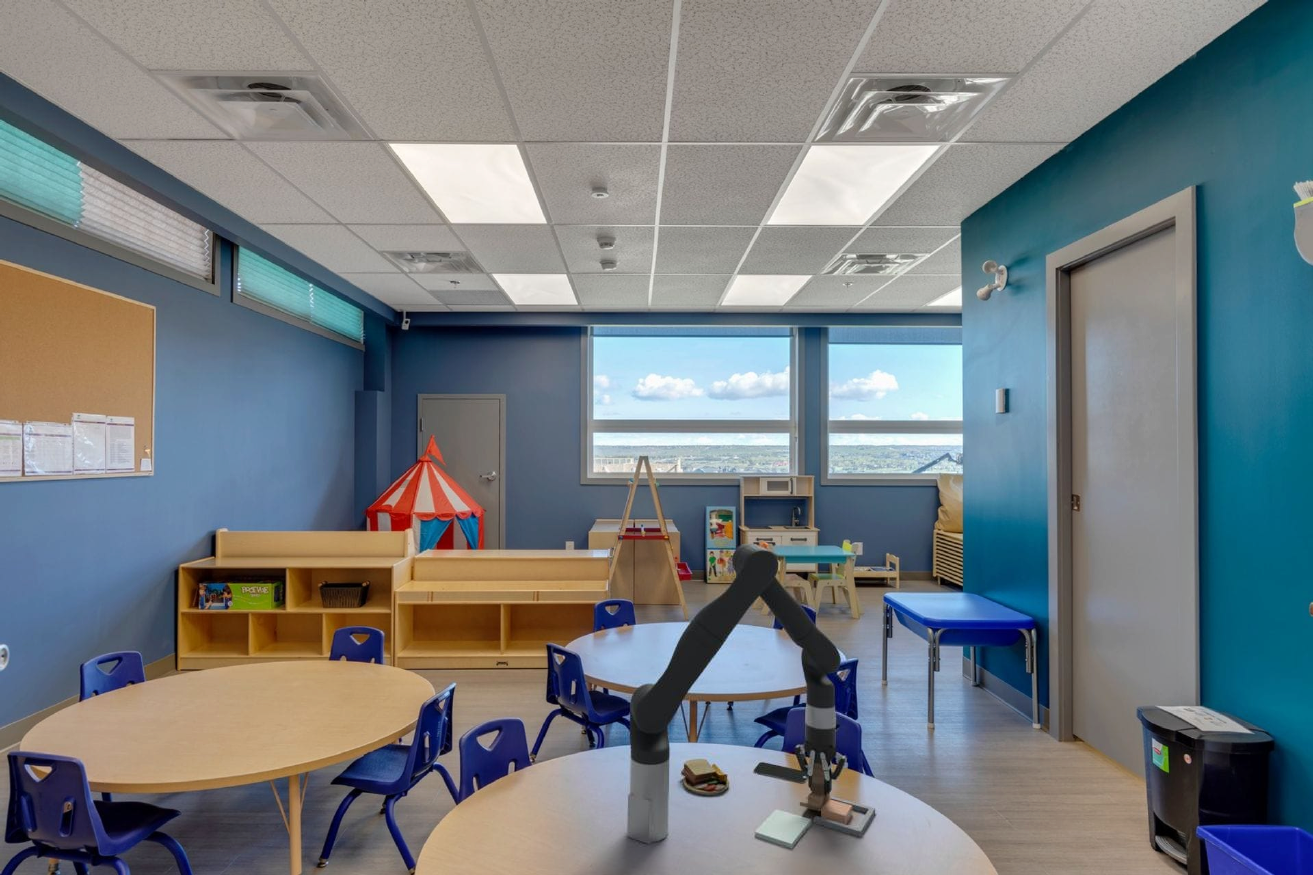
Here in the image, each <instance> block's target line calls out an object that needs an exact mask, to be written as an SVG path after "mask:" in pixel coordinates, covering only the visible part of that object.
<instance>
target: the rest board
mask: <svg viewBox="0 0 1313 875" xmlns="http://www.w3.org/2000/svg"><path fill="white" fill-rule="evenodd" d="M811 824H812V819H811V818H808V817H803V816H800V815H797V814H794V813H790V812H788V811H787V812H786V811H783V810H781V809H778V808H775V810H774V811H773V812H772V813H771V814H770V815H769V816H768V817H767V819H765V820H764V821H763V823H761V825H760V826H759V827H758V828H757V829H756V830H755V831H754V837H756V838H759V839H762V840H765V841H768V842H772V843H774V844H777V845H780V846H783V847H785V848H786V847H787V848H789V849H793V847H794V846H795V845H796V844H797V842H798V841H799V840H800V838H801V837H802V836H803V835H804V834H805V832H806V831H807V830H808V829H809V827H810V826H811ZM806 829H807V830H806Z"/></svg>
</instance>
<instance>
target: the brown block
mask: <svg viewBox="0 0 1313 875" xmlns="http://www.w3.org/2000/svg"><path fill="white" fill-rule="evenodd" d="M824 780H825V775H824V771H823V766H822V765H821V764H819V763H814V768H813V775H812V791H811V792H810V793H809V794H807V796H806V797H805V798H804V799H802V800H801V801H800V802H799V806H800V807H804V808H807V809H810V810H813V811H817V812H821V808H822V807H823V806H824V804H825V803H826V802H827V801H828V799H830V797H831V796H830V795H831V792H830V793H829V794H828V795H825V794H824Z"/></svg>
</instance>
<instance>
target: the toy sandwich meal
mask: <svg viewBox="0 0 1313 875" xmlns="http://www.w3.org/2000/svg"><path fill="white" fill-rule="evenodd" d="M680 775H681V776H683V777H684V778H683V780H682V783H683V785H684V786H685V787H686V789H687V790H689V791H690V790H691V791H690V792H692V791H693V792H692V793H694V792H696V793H695V794H698V793H699V794H698V795H703V794H706V795H705V796H711V795H712V794H714V795H719V794H721V793H723V792H725V791H726V790H727V789H728V788H729V786H730V780H729V779H728V774H726V773H725V772H722V770H721V769H720V768H719V767H718V766H717V765H716V764H715V763H713V764H710V763H709V761H708V759H704V758H695V759H689V760H687V761H684V763H683V769H681V771H680ZM724 790H725V791H724Z"/></svg>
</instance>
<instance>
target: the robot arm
mask: <svg viewBox="0 0 1313 875" xmlns="http://www.w3.org/2000/svg"><path fill="white" fill-rule="evenodd" d="M731 562H732V567H733V570H734V571H735V573H736V574H737V575H736V576H735V578H734V580H733V581H732V583H730V585H729V587H727V589H726V590H725V591H724V592H723V593H722V594H721V595H719V596H717V598H715V599H714V600H712V601H711V602H710V603H708V604H707V605H705V606H704V607H702V608H701V609H700V610H699V611H698V613H697V614H695V616H694V617H693V619H692V620H691V621H690V622H689V624H688V625H687V626H686V628H685V630H684V631H683V633H682V634H681V636H680V637H679V640H678V641H677V643H676V646H675V648H674V650H673V653H672V656H671V658H670V661H669V663H668V665H667V667H666V669H665V670H664V672H663V673H662V675H661V676H660V677H659V678H658V680H657V681H656V682H655V684H654V683H646V684H642V685H640V686H639V687H637V688H636V689H635V691H634V692H633V694H632V695H631V699H630V704H629V743H630V744H629V746H630V770H629V771H630V772H629V774H630V776H629V778H630V779H629V793H628V796H627V830H626V832H627V834H626V835H627V837H629V838H631V839H634V840H637V841H639V842H641V843H645V844H648V845H650V844H652V843H654V842H659V841H661V840H663V839H665V838H667V836H668V834H669V809H670V808H669V806H670V805H669V804H670V803H669V801H670V798H669V797H670V795H669V794H670V750H671V748H670V740H669V732H668V726H669V725H670V723H671V721H672V720H673V719H674V717H675V714H676V713H677V711H678V710H679V708H680V707H681V705H682V703H683V701H684V699H685V698H686V695H687V694H688V693H689V691H690V690H691V688H692V687H693V685H694V684H695V682H696V681H697V680H698V679H699V677H701V675H702V674H703V672H704V671H705V669H707V667H708V665H709V664H710V663H711V661H712V660H713V659H714V658H715V656H716V655H717V653H718V652H719V651H720V649H721V648H722V646H723V645H724V644H725V642H726V641H727V639H728V638H729V636H730V635H731V633H732V632H733V631H734V630H735V628H736V627H737V625H738V624H739V622H740V621H741V620H742V618H744V615H745V614H747V613H746V612H748V610H749V609H750V607H751V606H752V605H753V604H754V603H755V602H756V600H757V599H758V598H759V597H760V598H761V600H762V602H764V603H765V605H766V606H767V607H768V609H769V610H770V611H771V613H772V614H773V615H774V617H775V618H776V620H777V621H778V622H779V624H780V626H781V627H782V628H783V630H784V631H785V632H786V634H787V636H789V638H790V639H791V641H792V642H793V643H794V644H795V645H796V646H798V647H799V648H801V656H800V657H801V659H800V660H801V667H802V672H803V677H804V680H805V685H806V704H805V712H804V713H805V716H804V717H805V720H804V721H805V722H804V724H805V726H804V727H805V728H804V729H805V730H804V734H805V735H804V737H805V738H804V743H803V744H797V745H796V746H795V747H793V751H794V754H795V756H796V760H797V762H798V764H799V768H800V770H801V771H803V772H804V771H805V772H806V773H807V774H808V779H807V786H808V788H809V789H810V792H812V775H813V768H814V763H819V764H821V765H822V766H823V771H824V775H825V780H824V794H825V795H828V794H829V793H830V794H831V791H832V789H833V785H832V784H833V782H832V781H833V780H834V781H835V780H838V777H840V774H841V773H842V771H843V769H844V766H845V765H846V762H847V760H848V757H847V755H842V754H841V753H839V752H838V748H837V746H836V745H837V744H836V739H837V738H836V736H837V735H836V734H837V732H836V729H837V726H836V725H837V716H836V715H837V714H836V705H835V704H836V703H835V702H836V695H835V694H836V689H835V685H834V683H833V682H832V681H831V680H830V678H828V676H827V675H828V674H834V673H837V671H838V670H839V668H840V667H841V662H842V659H841V653H840V652H839V650H838V648H837V646H836V645H835V644H834V643H833V642H832V641H831V640H830V639H829V638H828V637H827V636H826V635H825V634H824V633H823V632H822V631H821V629H819V628H818V627H817V626H816V625H815V623H814V621H813V620H812V619H811V617H810V616H809V614H808V613H807V612H806V610H805V609H804V608H803V606H802V605H801V603H799V602H798V601H797V600H796V599H795V598H794V597H793V596H792V595H791V594H790V592H789V591H787V589H786V588H785V587H784V586H783V585H782V584H781V582H780V581H779V580H778V578H777V574H778V571H779V559H778V557H777V556H776V554H775V553H774V552H773V551H771V550H769V549H767V548H766V547H763V546H761V545H758V544H756V543H749V542H748V543H743V544H741V545H739V546H737V547H736V549H735V550H734V552H733V554H732V559H731ZM805 752H806V754H807V757H808V758H809V759H807V757H806V755H805ZM834 758H836V760H835V761H836V762H835V763H836V764H837V765H836V767H835V769H834V771H833V765H832V764H833V763H832V761H833V759H834ZM807 760H809V761H807Z"/></svg>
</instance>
